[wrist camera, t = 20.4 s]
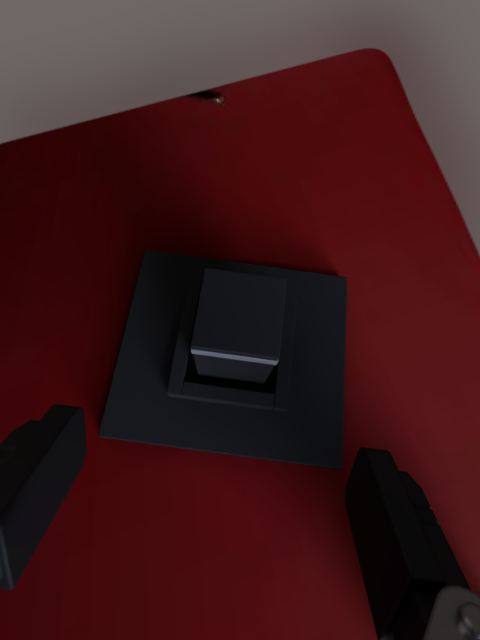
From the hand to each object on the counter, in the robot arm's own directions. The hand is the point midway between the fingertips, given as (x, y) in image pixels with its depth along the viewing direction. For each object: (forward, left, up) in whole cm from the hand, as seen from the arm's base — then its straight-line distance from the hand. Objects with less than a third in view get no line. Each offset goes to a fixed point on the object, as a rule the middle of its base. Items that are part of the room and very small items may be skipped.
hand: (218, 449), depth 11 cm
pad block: (0, +8, -16) cm, 17 cm away
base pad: (0, +8, -17) cm, 18 cm away
